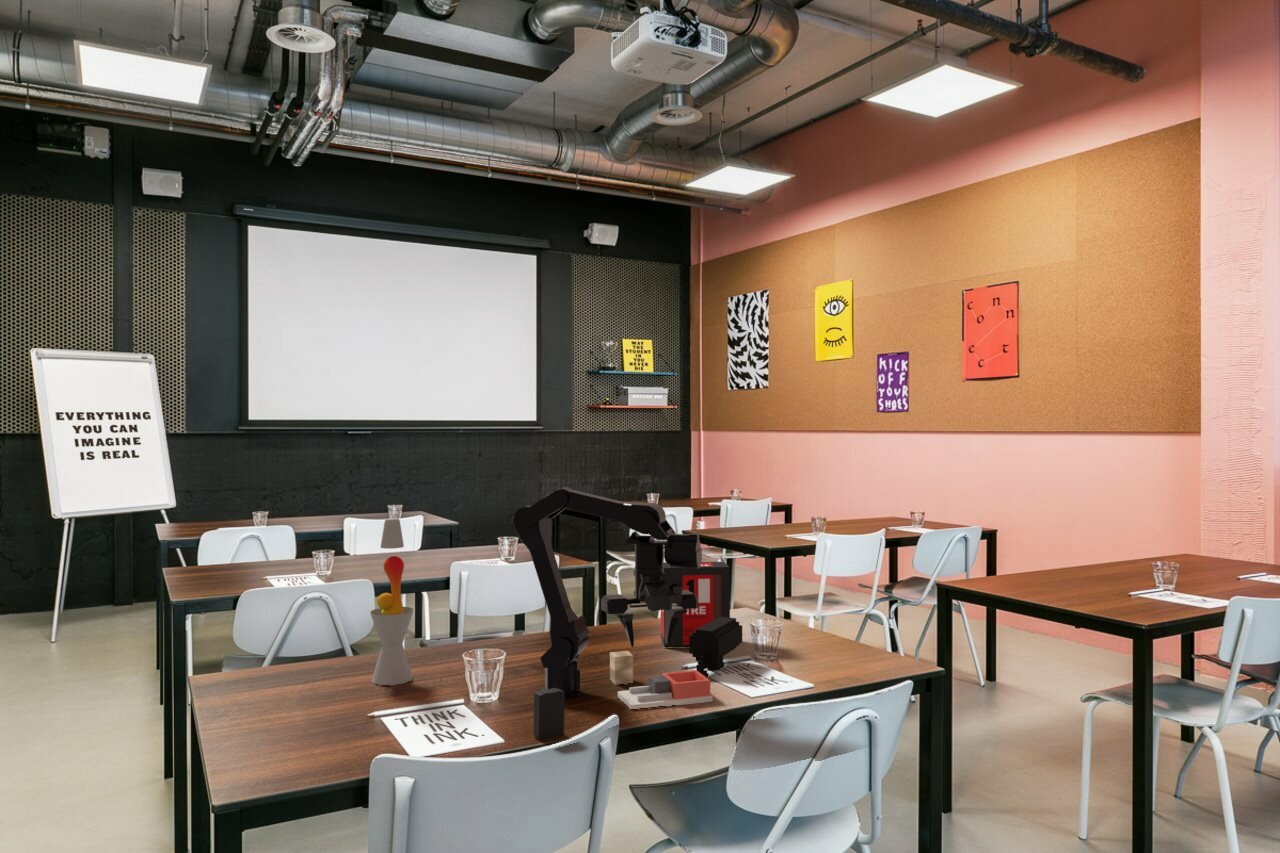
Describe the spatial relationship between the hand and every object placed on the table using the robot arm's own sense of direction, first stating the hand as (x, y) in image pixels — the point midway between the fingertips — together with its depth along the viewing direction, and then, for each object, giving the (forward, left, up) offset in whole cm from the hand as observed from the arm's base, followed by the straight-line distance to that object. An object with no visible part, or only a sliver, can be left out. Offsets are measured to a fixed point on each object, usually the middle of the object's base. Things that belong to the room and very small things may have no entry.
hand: (649, 645), depth 164 cm
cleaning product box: (+25, +40, -11) cm, 49 cm away
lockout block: (-2, +14, -11) cm, 18 cm away
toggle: (+2, 0, -10) cm, 10 cm away
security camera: (+21, +17, -11) cm, 29 cm away
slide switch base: (+3, 0, -11) cm, 11 cm away
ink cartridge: (-23, -13, -11) cm, 29 cm away
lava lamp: (-49, +31, -11) cm, 59 cm away
